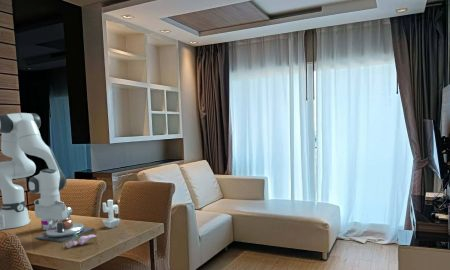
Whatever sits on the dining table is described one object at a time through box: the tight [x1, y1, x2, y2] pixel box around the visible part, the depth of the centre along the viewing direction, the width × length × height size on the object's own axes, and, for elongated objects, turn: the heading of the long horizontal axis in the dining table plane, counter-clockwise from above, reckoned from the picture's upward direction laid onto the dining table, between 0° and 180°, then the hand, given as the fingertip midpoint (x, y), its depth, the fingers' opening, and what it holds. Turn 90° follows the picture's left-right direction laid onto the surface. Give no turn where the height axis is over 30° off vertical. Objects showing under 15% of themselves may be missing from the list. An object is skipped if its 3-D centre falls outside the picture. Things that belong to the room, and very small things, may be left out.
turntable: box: [45, 222, 85, 237], centre depth 176 cm, size 18×18×7 cm
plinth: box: [35, 226, 95, 243], centre depth 177 cm, size 20×20×1 cm
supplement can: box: [40, 218, 59, 231], centre depth 189 cm, size 8×8×15 cm
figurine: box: [101, 199, 121, 229], centre depth 186 cm, size 7×9×15 cm
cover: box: [58, 218, 74, 230], centre depth 176 cm, size 7×7×5 cm
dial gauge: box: [66, 206, 73, 219], centre depth 187 cm, size 5×6×11 cm
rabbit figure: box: [62, 234, 97, 249], centre depth 158 cm, size 6×6×15 cm
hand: (52, 227), depth 171 cm, fingers closed
